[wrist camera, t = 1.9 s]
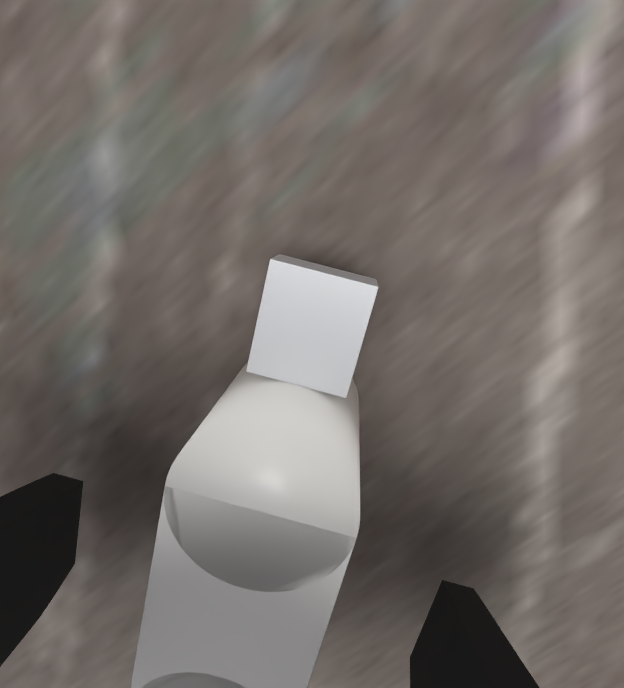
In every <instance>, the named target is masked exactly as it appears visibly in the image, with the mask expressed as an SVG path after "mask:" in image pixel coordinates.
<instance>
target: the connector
mask: <svg viewBox="0 0 624 688" xmlns="http://www.w3.org/2000/svg"><path fill="white" fill-rule="evenodd" d="M377 290H378V283H377V280H376V279H374V278H370V277H366V276H362V275H358V274H355V273H351V272H347V271H343V270H339V269H335V268H331V267H328V266H324V265H320V264H316V263H312V262H308V261H304V260H301V259H297V258H293V257H289V256H285V255H281V254H279V255H277V256H275V257H273V258H271V259H270V263H269V267H268V272H267V277H266V281H265V286H264V291H263V295H262V300H261V305H260V310H259V314H258V319H257V324H256V328H255V333H254V338H253V342H252V347H251V352H250V356H249V361H248V362H247V363H246V364H245V365H244V366H243V368H242V369H241V370H240V372H239V373H238V374H237V376H236V377H235V379H234V380H233V381H232V383H231V384H230V385H229V387H228V388H227V389H226V391H225V392H224V393H223V395H222V396H221V397H220V399H219V400H218V402H217V403H216V404H215V406H214V407H213V408H212V410H211V411H210V412H209V414H208V415H207V416H206V418H205V419H204V420H203V422H202V423H201V424H200V426H199V427H198V429H197V430H196V431H195V433H194V434H193V435H192V437H191V438H190V439H189V441H188V442H187V443H186V445H185V446H184V447H183V449H182V450H181V452H180V453H179V454H178V456H177V457H176V459H175V461H174V462H173V464H172V466H171V468H170V470H169V473H168V475H167V479H166V483H165V488H164V494H163V500H162V505H161V511H160V517H159V523H158V529H157V535H156V541H155V547H154V553H153V559H152V564H151V570H150V576H149V582H148V588H147V594H146V600H145V606H144V612H143V618H142V623H141V629H140V635H139V641H138V647H137V653H136V659H135V665H134V671H133V677H132V682H131V688H307V686H308V683H309V680H310V677H311V674H312V671H313V668H314V665H315V662H316V659H317V656H318V653H319V650H320V647H321V644H322V641H323V638H324V635H325V632H326V629H327V626H328V623H329V620H330V617H331V614H332V611H333V608H334V605H335V602H336V599H337V596H338V592H339V589H340V586H341V583H342V580H343V577H344V574H345V571H346V568H347V565H348V562H349V559H350V556H351V553H352V550H353V547H354V544H355V541H356V538H357V534H358V530H359V525H360V444H359V397H358V392H357V388H356V386H355V383H354V381H353V379H352V376H353V373H354V370H355V366H356V363H357V359H358V356H359V352H360V349H361V345H362V342H363V339H364V335H365V332H366V328H367V325H368V321H369V318H370V315H371V311H372V308H373V304H374V301H375V297H376V294H377Z"/></svg>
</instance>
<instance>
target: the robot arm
mask: <svg viewBox="0 0 624 688" xmlns="http://www.w3.org/2000/svg"><path fill="white" fill-rule="evenodd" d="M82 488H83V481H80V480H77V479H73V478H69V477H66V476H62V475H58V474H55V473H53V474H50V475H48V476H46V477H43V478H41V479H39V480H36V481H34V482H32V483H30V484H27V485H25V486H23V487H21V488H19V489H16V490H14V491H12V492H10V493H8V494H5V495H3V496H1V497H0V666H1V665H2V664H3V662H4V661H5V660H6V659H7V657H8V656H9V655H10V654H11V652H12V651H13V650H14V649H15V648H16V646H17V645H18V644H19V643H20V641H21V640H22V639H23V638H24V636H25V635H26V634H27V633H28V631H29V630H30V629H31V628H32V626H33V625H34V624H35V622H36V621H37V620H38V619H39V617H40V616H41V615H42V613H43V612H44V610H45V609H46V607H47V606H48V604H49V603H50V601H51V600H52V598H53V597H54V595H55V594H56V592H57V591H58V589H59V588H60V586H61V584H62V583H63V581H64V580H65V578H66V577H67V575H68V573H69V572H70V570H71V569H72V567H73V565H74V564H75V556H76V546H77V536H78V527H79V517H80V507H81V497H82ZM410 688H539V686H538V685H537V683H536V682H535V680H534V679H533V677H532V676H531V674H530V673H529V671H528V670H527V669H526V667H525V666H524V664H523V663H522V661H521V659H520V658H519V656H518V655H517V653H516V652H515V650H514V649H513V647H512V646H511V644H510V643H509V641H508V640H507V638H506V637H505V635H504V634H503V632H502V631H501V629H500V628H499V626H498V624H497V623H496V621H495V620H494V618H493V617H492V615H491V614H490V612H489V611H488V609H487V608H486V606H485V605H484V603H483V602H482V600H481V599H480V597H479V596H478V594H477V593H476V591H475V590H474V589H473V588H469V587H466V586H462V585H458V584H455V583H451V582H447V581H444V580H442V582H441V585H440V587H439V589H438V592H437V594H436V597H435V599H434V601H433V604H432V606H431V608H430V611H429V613H428V616H427V618H426V620H425V623H424V625H423V627H422V630H421V632H420V635H419V637H418V639H417V642H416V644H415V647H414V649H413V651H412V654H411V656H410Z"/></svg>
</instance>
